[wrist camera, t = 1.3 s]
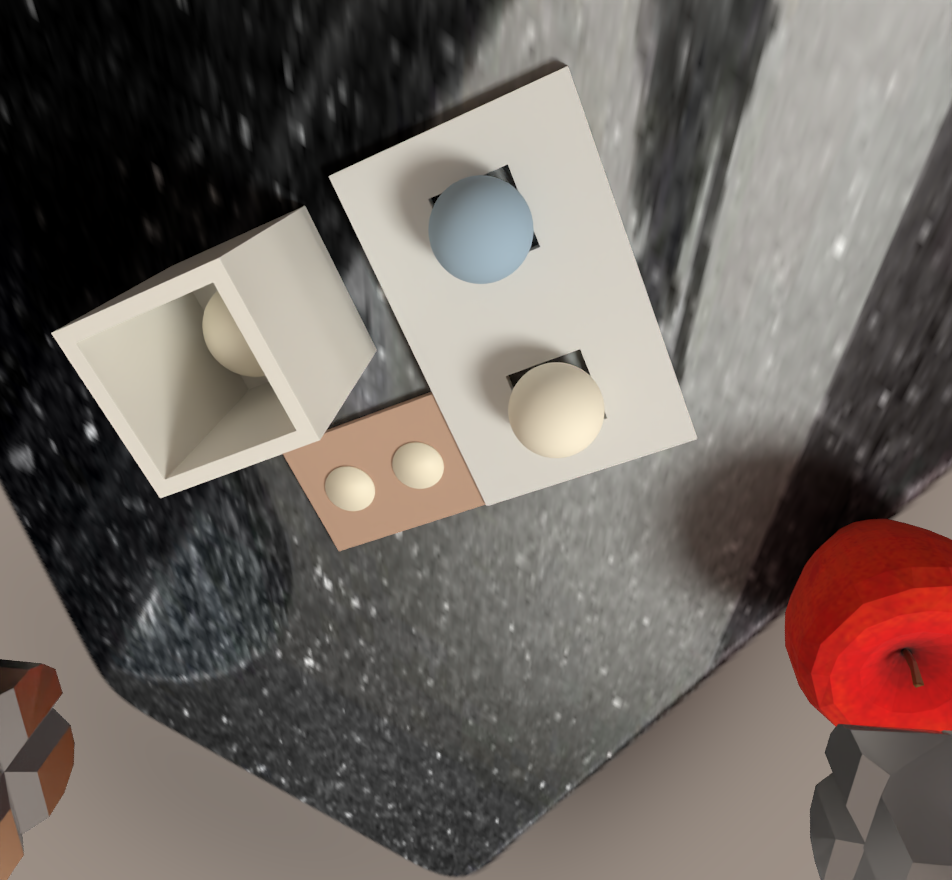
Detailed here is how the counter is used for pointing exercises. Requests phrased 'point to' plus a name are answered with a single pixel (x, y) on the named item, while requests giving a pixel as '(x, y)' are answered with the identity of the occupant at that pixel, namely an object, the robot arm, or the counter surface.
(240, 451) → the tube
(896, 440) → the counter surface
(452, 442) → the card
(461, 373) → the board
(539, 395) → the cream ball
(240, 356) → the tube ball
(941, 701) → the apple
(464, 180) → the blue ball
